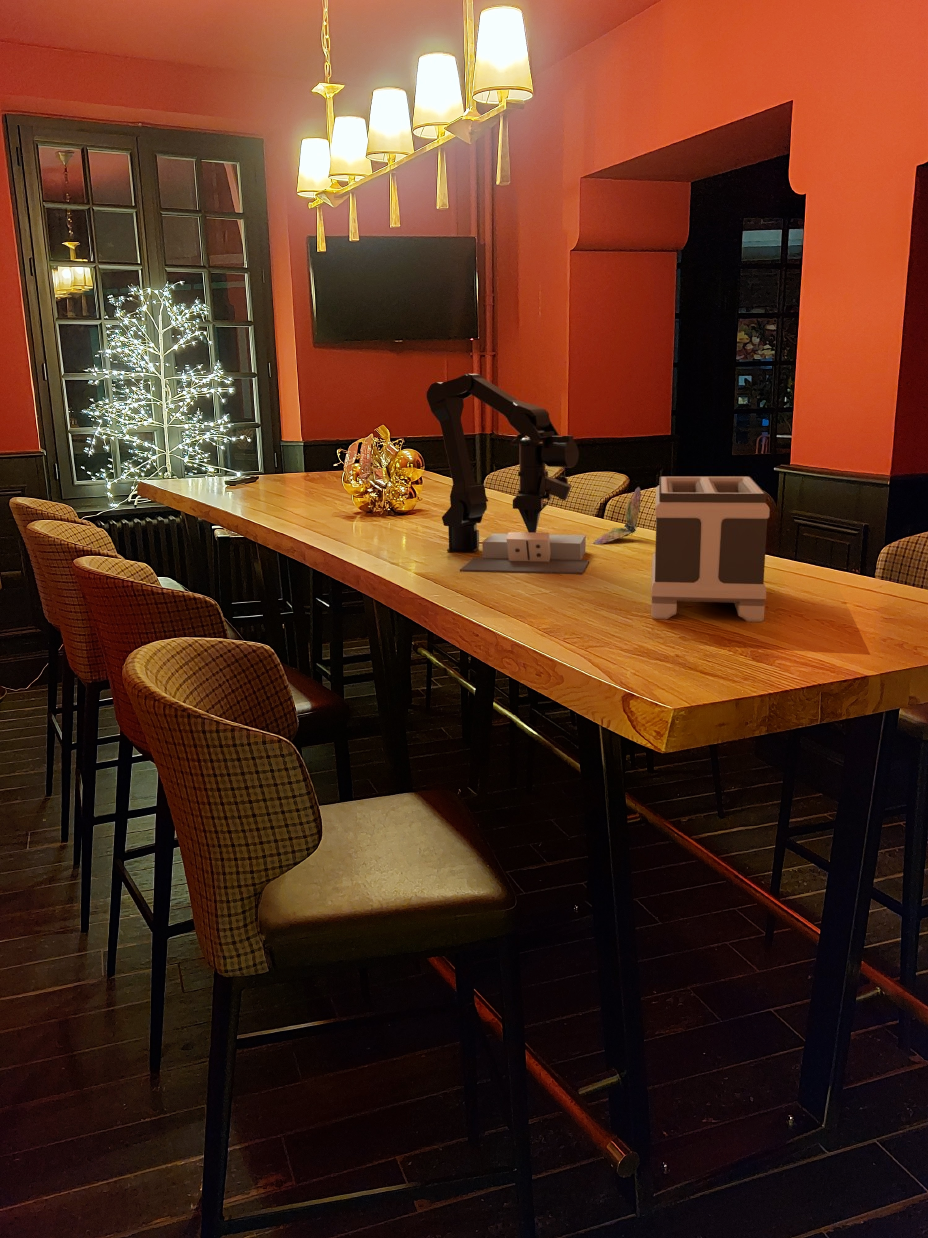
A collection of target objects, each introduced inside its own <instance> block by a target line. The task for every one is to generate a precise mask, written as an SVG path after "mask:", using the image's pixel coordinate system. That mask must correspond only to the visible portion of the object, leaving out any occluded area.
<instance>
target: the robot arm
mask: <svg viewBox="0 0 928 1238" xmlns="http://www.w3.org/2000/svg"><path fill="white" fill-rule="evenodd" d="M425 394H426V395H425V396H426V401H427V404H428V406H429V410H430V413H432V415H433V416H434V417H435V419H437V422H438V423H439V425H440V429H441V434H442V438H443V442H444V448H445V452H446V457H447V462H448V466H449V470H450V475H451V480H452V487H451V491H450V493H449V503H450V507H449V508H448V509H447V511H446V512H445V513H444V514H443V515H442V517H441V520H442V524H443V526H445V527H448V528H447V529H448V548H447V549H446V552H448V553H449V552H451V553H457V552H458V553H475V551H477V550H478V549H479V548H480V530H479V529H478V527H477V526H478V525H477V524H481V523H482V520H483V516H484V514H485V512H486V511H487V509H488V506H487V505H488V504H487V502H489V499H488V497H487V494H486V493H487V492H486V487H485V485H484V484H478V482H477V481H476V480H475V479H474V474H473V470H472V465H471V460H470V455H469V451H468V447H467V442H466V438H465V432H464V428H463V423H462V414H463V410H464V407H465V404H464V400H465V399H468V398H470V397H471V396H473V397H474V398H476V399H477V400H479V401H481V402H483V403H484V404H486V406H488V407H490V408H491V409H493V410H495V411H496V412H498V413H499V414H501V415H503V416H504V417H505V418H506V419H507V423H508V424H509V425H510V426H511V427H512V428H513V429H514V431H516V432H517V433H518V434H517V435H516V437H515V438H513V440H512V441H510V445H512V446H519V471H518V472H517V477H519V489H518V490H517V495H516V496H515V497H514V498H513V499H512V509H514V510H518V512H519V513H520V516H521V518H522V520H523V523H524V525H525V528H526V529H527V532H531V533H537V532H538V531H537V530H538V525H539V522H540V520H539V519H540V516H541V512H542V511H543V510H544V509H545V508H546V507H547V506H548V503H546V502H545V503H544V499H545V500H547V501H551V500H552V496H554V497H557V498H558V499H559V500H563V501H566V500H567V499H568V498H569V497H568V496H569V494H570V492H571V488H572V484H571V483H569V480H568V477H567V476H564V475H561V476H559V477H558V478H557V479H556V478H554V477H550V476H549V471H548V470H547V469H546V466H547V467H550V468H570V469H571V468H574V467H575V466H577V464H578V461H579V458H580V457H579V456H580V451H579V448H578V445H577V443H576V441H574V440H575V439H574V438H575V436H574V435H572V434H570V435H569V434H568V435H560V434H559V432H558V431H557V429H556V427H555V426H554V424H553V423H552V421H551V420H550V419H551V418H550V413H549V411H547V409H545V408H544V407H540V406H538V405H536V404H532V403H529V402H525V401H522V400H519V399H517V398H515V397H514V396H513V395H511V394H509V393H508V392H506V391H505V390H503V389H501V388H500V387H498V386H496V385H495V384H493V383H492V382H490V381H489V380H487V379H485V378H484V377H483V376H482V375H481V374H480V373H465V374H463V375H461V376H459V377H457V378H454V379H450V380H447V381H442V382H439V381H438V382H433V383H432V384H430V385H429V387H428V388H427V391H426V393H425Z"/></svg>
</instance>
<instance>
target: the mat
mask: <svg viewBox="0 0 928 1238" xmlns="http://www.w3.org/2000/svg"><path fill="white" fill-rule="evenodd" d="M589 563H590V560H589V559H581V560H562V559H550V561H549V562H542V561H509V558H483V557H473V558H472V559H470V560H469V561H468V562H467V563H466V564H464V565H463V566H462V567H461V568H460V569H459V572H479V573H480V572H481V573H482V572H483V573H515V574H516V573H519V574H521V573H522V574H555V575H556V574H558V575H559V574H561V575H584V573H585V571H586V569H587V567H588V565H589Z"/></svg>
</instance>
